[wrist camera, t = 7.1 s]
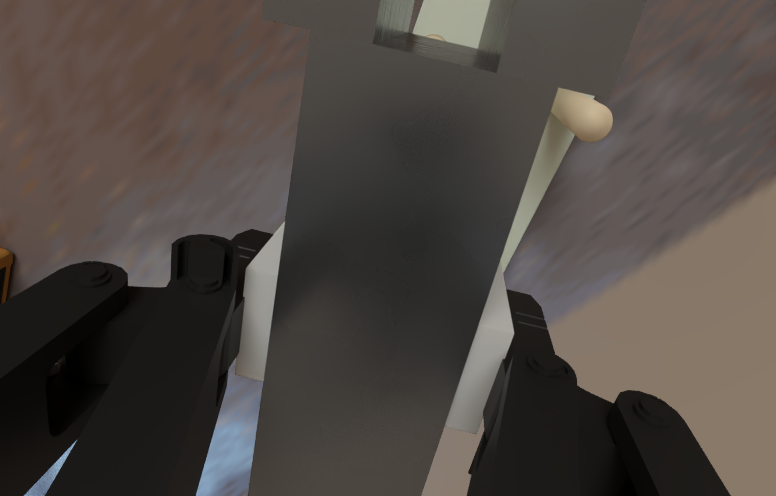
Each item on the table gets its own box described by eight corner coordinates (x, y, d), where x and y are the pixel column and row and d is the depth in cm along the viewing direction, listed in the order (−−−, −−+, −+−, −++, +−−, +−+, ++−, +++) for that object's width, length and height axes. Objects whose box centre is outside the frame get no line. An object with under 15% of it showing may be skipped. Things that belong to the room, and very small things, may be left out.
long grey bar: (423, 433, 20) (409, 622, 14) (284, 399, 20) (208, 571, 14) (579, -59, 13) (695, -129, 7) (365, -108, 13) (286, -221, 7)
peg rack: (480, 303, 34) (487, 373, 28) (337, 249, 34) (309, 308, 27) (613, 43, 27) (667, 50, 20) (435, -29, 27) (430, -45, 20)
